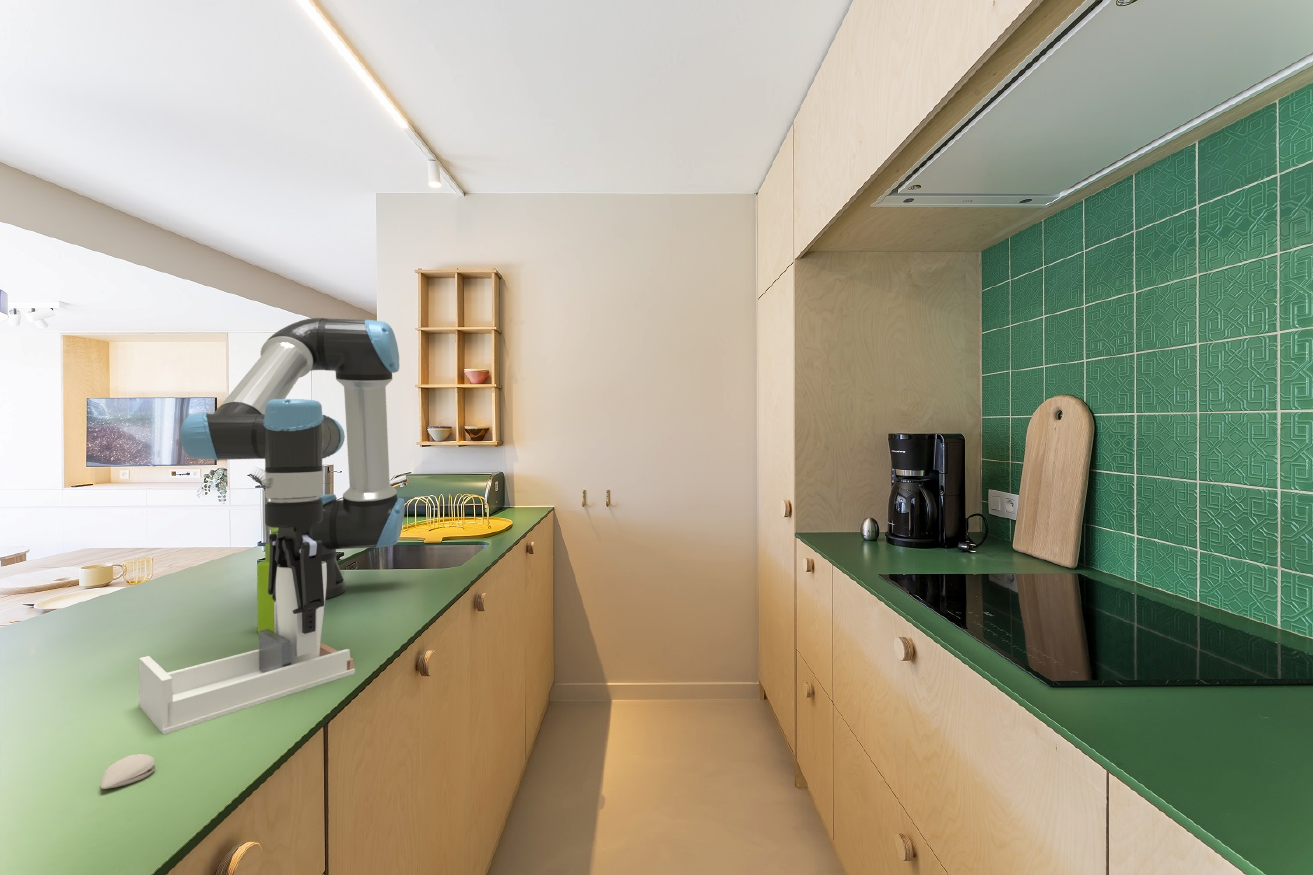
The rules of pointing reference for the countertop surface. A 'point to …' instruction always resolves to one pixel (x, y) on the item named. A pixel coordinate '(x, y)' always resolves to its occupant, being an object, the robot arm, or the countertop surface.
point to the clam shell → (127, 771)
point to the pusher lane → (228, 685)
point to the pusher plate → (273, 651)
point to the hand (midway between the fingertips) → (295, 646)
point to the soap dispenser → (265, 592)
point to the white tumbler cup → (289, 603)
